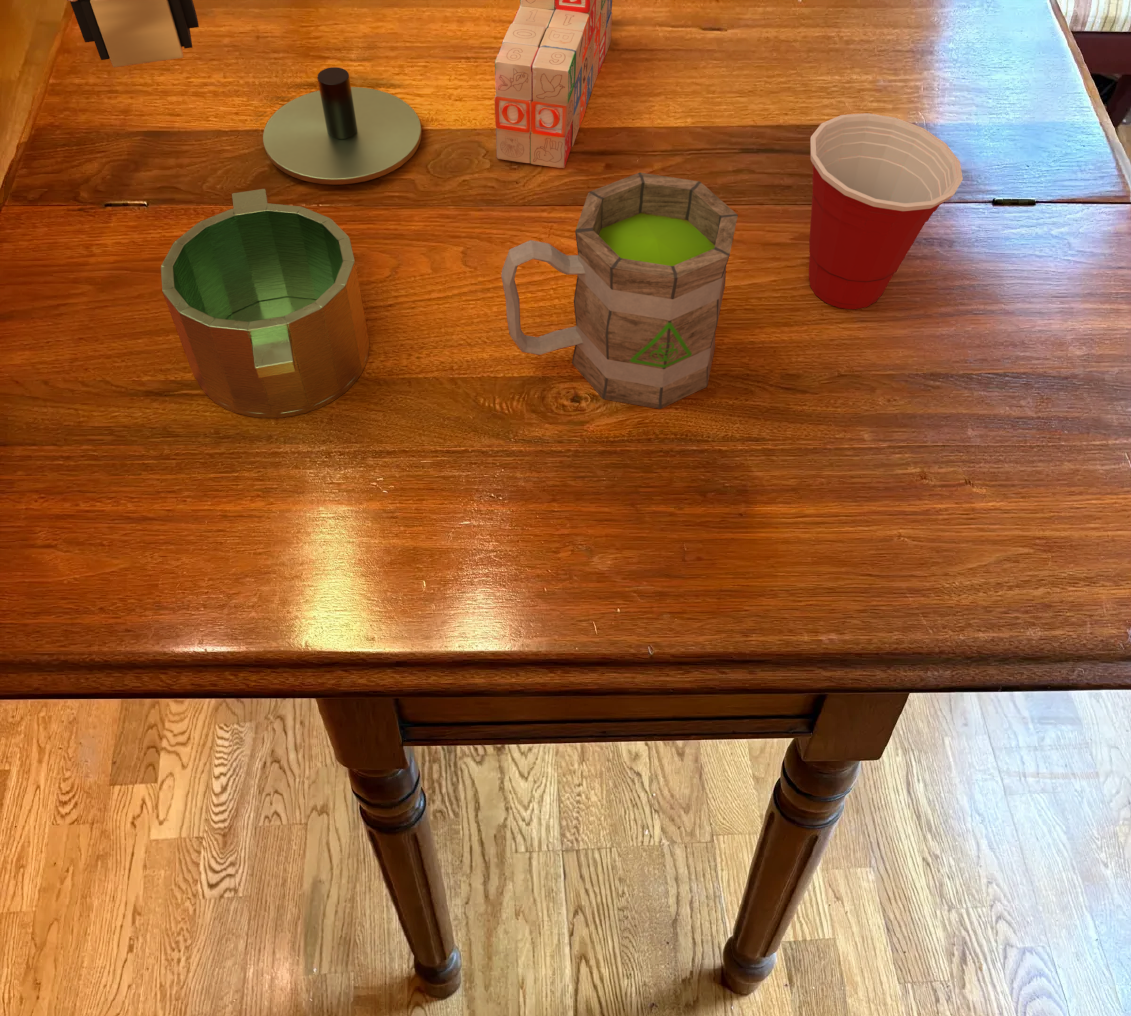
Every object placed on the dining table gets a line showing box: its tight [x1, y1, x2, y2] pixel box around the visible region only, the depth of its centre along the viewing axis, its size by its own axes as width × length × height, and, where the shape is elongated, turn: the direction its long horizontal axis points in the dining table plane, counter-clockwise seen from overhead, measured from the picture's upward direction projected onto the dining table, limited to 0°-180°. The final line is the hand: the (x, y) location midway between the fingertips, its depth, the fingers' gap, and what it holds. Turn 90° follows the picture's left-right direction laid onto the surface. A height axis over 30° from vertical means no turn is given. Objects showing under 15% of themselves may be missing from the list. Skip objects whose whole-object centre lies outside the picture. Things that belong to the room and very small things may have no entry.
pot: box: [160, 188, 371, 419], centre depth 75 cm, size 13×18×8 cm
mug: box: [501, 172, 739, 410], centre depth 74 cm, size 16×11×12 cm
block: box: [90, 0, 184, 68], centre depth 70 cm, size 4×4×4 cm
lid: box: [262, 66, 423, 186], centre depth 92 cm, size 14×14×6 cm
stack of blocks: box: [494, 0, 613, 169], centre depth 94 cm, size 21×6×12 cm, turn 168°
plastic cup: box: [808, 112, 964, 310], centre depth 80 cm, size 11×11×12 cm
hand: (145, 40), depth 72 cm, fingers closed on block, 4 cm apart
